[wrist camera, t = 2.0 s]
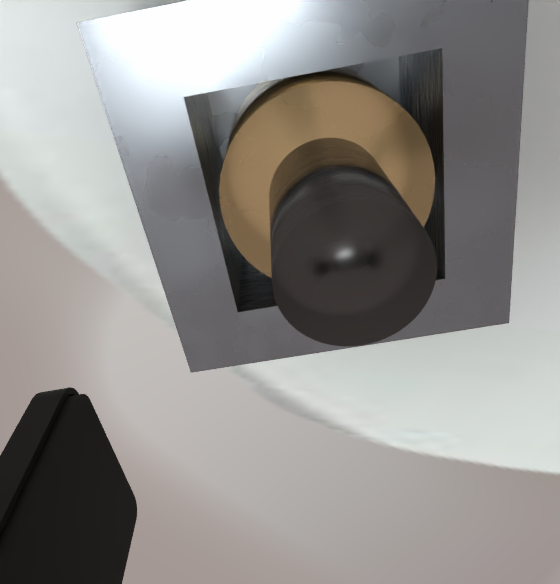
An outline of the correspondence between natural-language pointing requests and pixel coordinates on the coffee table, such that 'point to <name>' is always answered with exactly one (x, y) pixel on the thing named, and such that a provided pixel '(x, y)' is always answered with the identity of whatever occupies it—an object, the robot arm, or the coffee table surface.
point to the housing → (297, 61)
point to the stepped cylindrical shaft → (332, 204)
